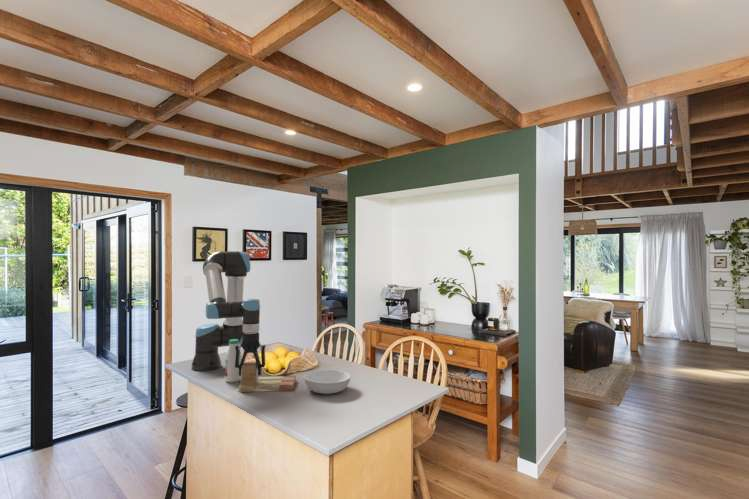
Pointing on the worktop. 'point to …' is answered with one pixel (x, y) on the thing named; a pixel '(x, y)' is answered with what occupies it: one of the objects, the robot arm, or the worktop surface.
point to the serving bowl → (327, 381)
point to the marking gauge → (248, 376)
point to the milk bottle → (232, 362)
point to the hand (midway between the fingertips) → (249, 382)
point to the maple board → (274, 383)
